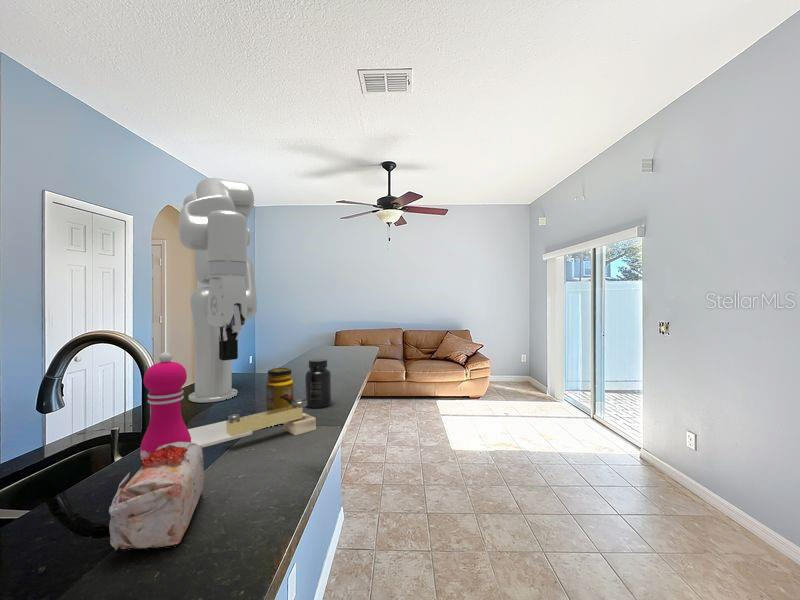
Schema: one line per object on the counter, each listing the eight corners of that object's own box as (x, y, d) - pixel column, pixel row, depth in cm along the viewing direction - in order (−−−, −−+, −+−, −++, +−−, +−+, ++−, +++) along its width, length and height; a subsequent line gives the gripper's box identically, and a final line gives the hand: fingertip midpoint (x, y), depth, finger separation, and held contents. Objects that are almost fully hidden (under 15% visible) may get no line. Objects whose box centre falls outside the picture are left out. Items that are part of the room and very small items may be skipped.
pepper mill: (201, 468, 64) (200, 350, 64) (162, 488, 57) (161, 356, 57) (170, 461, 66) (169, 348, 66) (128, 481, 60) (127, 354, 59)
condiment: (299, 422, 87) (298, 370, 87) (260, 429, 83) (260, 374, 82) (289, 413, 93) (288, 365, 93) (253, 420, 89) (252, 369, 88)
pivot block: (283, 429, 82) (283, 418, 82) (304, 423, 86) (303, 412, 86) (295, 435, 79) (295, 423, 79) (316, 429, 82) (315, 418, 82)
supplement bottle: (336, 403, 102) (336, 359, 102) (318, 410, 96) (318, 363, 96) (318, 400, 105) (318, 357, 105) (299, 406, 100) (299, 360, 99)
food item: (186, 552, 43) (185, 466, 43) (103, 567, 41) (102, 477, 41) (208, 493, 56) (207, 427, 56) (146, 501, 54) (145, 432, 54)
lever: (225, 432, 73) (225, 415, 73) (302, 413, 84) (302, 398, 84) (232, 437, 71) (231, 418, 70) (310, 416, 82) (310, 401, 82)
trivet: (178, 434, 80) (178, 431, 80) (232, 421, 87) (232, 419, 87) (195, 449, 72) (195, 446, 72) (252, 434, 79) (252, 431, 79)
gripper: (196, 272, 82) (197, 357, 82) (222, 268, 71) (223, 366, 71) (232, 274, 87) (232, 354, 87) (261, 270, 76) (261, 361, 76)
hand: (228, 359), depth 79 cm, fingers closed
